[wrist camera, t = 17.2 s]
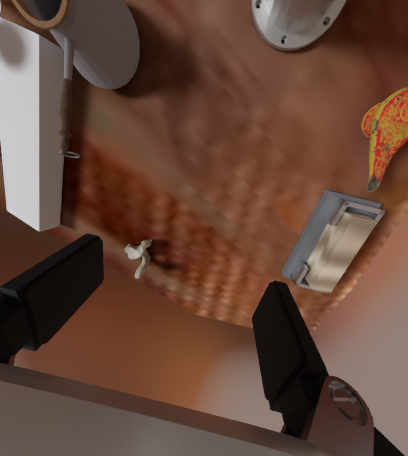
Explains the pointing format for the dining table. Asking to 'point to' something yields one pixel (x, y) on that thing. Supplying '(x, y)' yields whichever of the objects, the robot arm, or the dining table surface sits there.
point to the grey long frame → (332, 219)
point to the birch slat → (337, 249)
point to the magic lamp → (385, 133)
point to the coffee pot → (87, 45)
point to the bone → (136, 253)
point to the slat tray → (317, 229)
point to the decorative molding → (31, 125)
